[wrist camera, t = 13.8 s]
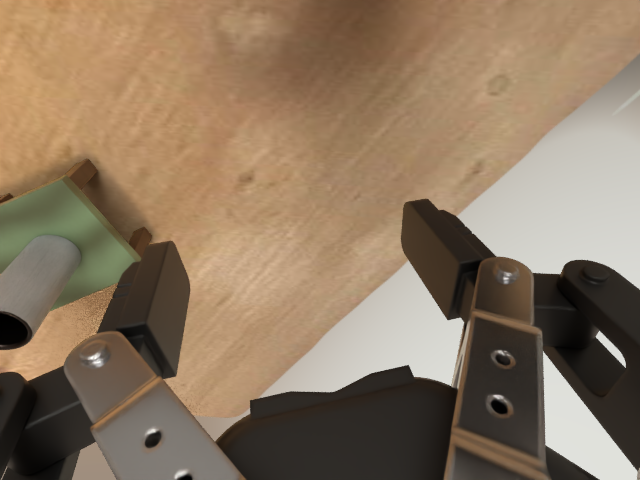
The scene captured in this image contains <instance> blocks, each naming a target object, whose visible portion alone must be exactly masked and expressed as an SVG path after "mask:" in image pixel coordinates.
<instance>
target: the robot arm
mask: <svg viewBox="0 0 640 480" xmlns="http://www.w3.org/2000/svg"><path fill="white" fill-rule="evenodd" d="M401 244H402V248H403V251H404V254H405V255H406V257H407V258H408V260H409V261H410V263H411V264H412V266H413V267H414V269H415V271H416V272H417V273H418V275H419V277H420V278H421V280H422V281H423V283H424V284H425V286H426V288H427V289H428V291H429V292H430V293H431V295H432V297H433V298H434V300H435V301H436V303H437V304H438V306H439V308H440V309H441V311H442V312H443V314H444V315H445V317H446V318H447V320H451V319H455V318H460V317H461V318H462V320H463V321H464V326H463V329H462V335H461V340H460V345H459V350H458V355H457V360H456V365H455V370H454V375H453V380H452V384H451V386H449V385H447V384H445V383H442V382H439V381H435V380H432V379H427V378H421V377H414V376H413V374H412V372H411V369H410V367H409V365H407V366H402V367H398V368H393V369H389V370H384V371H380V372H375V373H371V374H369V375H367V376H365V377H363V378H361V379H359V380H357V381H356V382H354V383H352V384H350V385H348V386H346V387H344V388H342V389H340V390H338V391H335V392H330V393H329V392H286V393H281V394H277V395H273V396H268V397H264V398H259V399H255V400H250V412H251V413H250V414H249V415H247V416H246V417H244V418H242V419H241V420H239V421H238V422H236V423H235V424H234V425H232V426H231V427H230V428H229V429H227V430H226V431H225V432H224V433H223V434H222V435H221V436H220V437H219V438H218V439H217V440H216V441H215V442H214V440H213V439H212V438H211V437H210V435H209V434H208V433H207V432H206V431H205V430H204V428H202V426H201V425H200V423H199V422H198V421H197V420H196V419H195V417H194V416H193V415H192V414H191V413H190V411H189V410H188V409H187V408H186V406H185V405H184V404H183V403H182V402H181V400H180V399H179V398H178V397H177V396H176V394H175V393H174V392H173V391H172V390H171V388H170V387H169V386H168V385H167V384H166V382H165V381H164V380H163V379H166V378H171V377H175V376H176V374H177V368H178V362H179V356H180V350H181V344H182V338H183V332H184V326H185V320H186V314H187V308H188V302H189V296H190V283H189V278H188V275H187V273H186V270H185V268H184V265H183V263H182V260H181V258H180V255H179V253H178V251H177V248H176V246H175V244H174V242H173V241H167V242H161V243H155V244H149V245H147V246H146V248H145V251H144V253H143V256H142V259H141V261H139V262H133V263H132V264H131V265H130V266H129V267H128V268H127V269H126V270H125V271H124V272H123V273H122V275H121V277H120V280H119V282H118V284H117V288H116V289H115V292H114V294H113V299H111V301H110V303H109V306H108V308H107V310H106V313H105V315H104V317H103V320H102V322H101V324H100V327H99V329H98V331H97V334H95V335H93V336H91V337H89V338H87V339H85V340H84V341H82V342H81V343H80V344H78V345H77V346H76V347H75V348H74V349H73V350H72V351H71V353H70V354H69V355H68V357H67V358H66V361H65V363H64V366H62V367H59V368H57V369H55V370H53V371H50V372H48V373H46V374H43V375H41V376H39V377H36V378H34V379H32V380H30V381H27V380H25V379H24V378H23V377H22V376H21V375H20V374H19V373H16V372H5V373H0V480H1V478H2V475H3V473H4V471H5V469H6V466H7V470H6V472H5V474H4V476H3V479H2V480H72V477H73V473H74V470H75V467H76V463H77V460H78V456H79V453H80V450H81V449H83V448H85V447H87V446H89V445H91V444H92V443H94V442H97V444H98V446H99V448H100V450H101V451H102V453H103V455H104V457H105V459H106V461H107V462H108V464H109V466H110V468H111V470H112V472H113V474H114V475H115V477H116V479H117V480H599V479H597V478H596V477H594V476H593V475H591V474H590V473H588V472H587V471H585V470H583V469H582V468H580V467H579V466H577V465H576V464H574V463H572V462H571V461H569V460H568V459H566V458H565V457H563V456H562V455H560V454H558V453H557V452H555V451H554V450H552V449H551V448H549V447H547V446H546V445H545V415H544V381H543V379H544V377H543V351H544V353H545V354H546V355H547V356H548V358H549V359H550V360H551V361H552V363H553V364H554V365H555V367H556V368H557V369H558V370H559V372H560V373H561V374H562V376H563V377H564V378H565V379H566V380H567V382H568V383H569V384H570V386H571V387H572V388H573V390H574V391H575V392H576V393H577V395H578V396H579V397H580V398H581V400H582V401H583V402H584V404H585V405H586V406H587V407H588V409H589V410H590V411H591V412H592V414H593V415H594V416H595V417H596V419H597V420H598V421H599V423H600V424H601V425H602V426H603V428H604V429H605V430H606V432H607V433H608V434H609V435H610V437H611V438H612V439H613V441H614V442H615V443H616V444H617V446H618V447H619V448H620V449H621V450H622V452H623V453H624V455H625V456H626V457H627V458H628V460H629V461H630V462H631V463H632V465H633V466H634V467H635V468H636V470H637V471H638V474H637V480H640V290H639V289H638V288H637V287H635V286H634V285H633V284H632V283H630V282H629V281H628V280H626V279H625V278H624V277H623V276H621V275H620V274H619V273H617V272H616V271H615V270H613V269H611V268H610V267H607V266H605V265H603V264H600V263H597V262H593V261H588V260H574V261H570V262H568V263H567V264H565V266H564V268H563V270H562V272H561V274H540V273H532V272H531V270H530V269H529V268H528V267H527V266H525V265H524V264H522V263H520V262H518V261H516V260H513V259H510V258H506V257H496V256H495V255H494V254H493V253H492V252H491V251H490V250H489V249H488V248H487V247H486V246H485V245H484V244H483V243H482V242H481V241H480V240H479V239H478V238H477V237H476V236H475V235H474V234H472V232H471V231H470V230H469V229H468V228H467V227H465V225H464V224H463V223H462V222H461V221H460V220H459V219H458V218H457V217H456V216H455V215H453V214H451V213H449V212H447V211H445V210H438V209H437V208H436V207H435V206H434V205H433V204H432V203H431V202H430V201H429V200H428V199H421V200H415V201H409V202H406V203H405V204H404V208H403V220H402V232H401ZM599 330H600V331H601V332H602V333H603V334H604V335H605V336H606V337H607V338H608V339H609V340H610V341H611V342H612V343H613V344H614V345H615V346H616V347H617V348H618V349H619V351H620V352H621V353H622V355H623V357H624V358H625V362H626V368H625V367H624V366H623V365H622V364H621V363H620V362H619V361H618V360H617V359H616V358H615V357H614V356H613V355H612V354H611V353H610V352H609V351H608V350H607V349H606V348H605V346H604V345H603V344H602V343H601V342H600V341H599V340H598V339H597V338H596V335H597V333H598V332H599Z"/></svg>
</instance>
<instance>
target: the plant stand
mask: <svg viewBox="0 0 640 480" xmlns="http://www.w3.org/2000/svg"><path fill="white" fill-rule="evenodd" d="M97 171H98V170H97V169H96V168H95V166H94V165H93V164H92V163H91V162H90V160H89V159H86V160H84V161H82V162H79V163H77V164H76V165H75V166H73V167H72V168H71V169H70V170H69V171H68V172H67V173H66V174H65V175H64V176H62V177H60V178H57V179H55V180H53V181H51V182H48V183H46V184H44V185H41V186H39V187H37V188H35V189H32V190H30V191H28V192H25V193H23V194H21V195H19V196H16V197H13V196H12V195H10V194H7V195H4V196H2V197H0V274H2V272H3V271H4V270H5V269H6V268H7V267H8V266H9V265H10V264H11V262H12V261H13V260H14V259H15V258H16V257H17V256H18V255H19V254H20V252H21V251H22V250H23V249H24V248H25V247H26V246H27V245H28V244H29V243H30V242H31V241H32V240H33V239H34V238H36V237H38V236H42V235H55V236H60V237H63V238H65V239H67V240H69V241H71V242H72V243H73V244H74V245H75V246H76V247H77V248H78V249H79V251H80V254H81V261H80V263H79V265H78V267H77V268H76V270H75V271H74V273H73V275H72V276H71V278H70V279H69V281H68V283H67V284H66V286H65V287H64V289H63V290H62V292H61V294H60V295H59V297H58V298H57V300H56V301H55V303H54V305H53V306H52V308H51V309H50V311H52V310H54V309H57V308H59V307H61V306H64V305H66V304H68V303H71V302H73V301H76V300H78V299H80V298H83V297H85V296H87V295H90V294H92V293H95V292H97V291H99V290H102V289H104V288H106V287H109V286H111V285H114V284H116V283H118V282H119V280H120V277H121V275H122V273H123V272H124V271H125V270H126V269H127V268H128V267H129V266H130V265H131V264H132V263H133V262H139V261H141V259H142V256H143V253H144V251H145V248H146V246H147V245H149V242H150V239H151V237H152V235H151V234H150V233H149V232H148V230H147V229H146V228H145V227H143V228H141V229H139V230H136V231H134V233H133V235H132V237H131V239H130V241H129V243H127V241H126V240H125V239H124V238H123V237H122V236H121V235H120V234H119V233H118V231H117V230H116V229H115V228H114V227H113V226H112V225H111V224H110V223H109V221H108V220H107V219H106V218H105V217H104V216H103V215H102V214H101V212H100V211H99V210H98V209H97V208H96V207H95V206H94V205H93V204H92V202H91V201H90V200H89V199H88V198H87V197H86V196H85V195H84V194H83V192H82V191H81V189H82V188H83V187H84V185H85V184H86V183H87V182H88V181H89V180H90V179H91V177H92V176H93V175H94V174H95V173H96V172H97ZM50 311H49V312H50Z"/></svg>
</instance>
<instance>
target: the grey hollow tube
mask: <svg viewBox="0 0 640 480" xmlns="http://www.w3.org/2000/svg"><path fill="white" fill-rule="evenodd" d="M80 261H81V254H80V251H79V249H78V248H77V247H76V246H75V245H74V244H73V243H72V242H71V241H69V240H67V239H65V238H63V237H60V236H55V235H42V236H38V237H36V238H34V239H33V240H32V241H31V242H30V243H29V244H28V245H27V246H26V247H25V248H24V249H23V250H22V251H21V252H20V254H19V255H18V256H17V257H16V258H15V259H14V260H13V261H12V262H11V264H10V265H9V266H8V267H7V268H6V269H5V270H4V271H3V272H2V274H1V275H0V350H10V349H16V348H19V347H22V346H24V345H26V344H27V343H29V342H30V341H31V339H32V338H33V336H34V335H35V333H36V332H37V330H38V328H39V327H40V325H41V324H42V322H43V320H44V319H45V317H46V316H47V314H48V313H49V311H50V309H51V308H52V306H53V305H54V303H55V301H56V300H57V298H58V297H59V295H60V294H61V292H62V290H63V289H64V287H65V286H66V284H67V283H68V281H69V279H70V278H71V276H72V275H73V273H74V271H75V270H76V268H77V267H78V265H79V263H80Z"/></svg>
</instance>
